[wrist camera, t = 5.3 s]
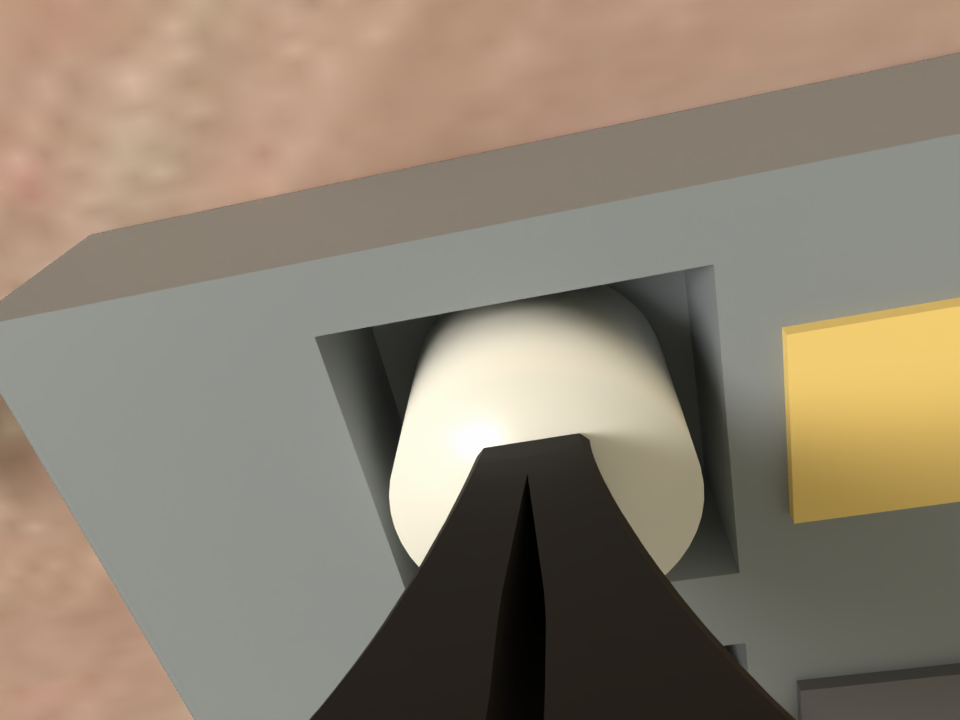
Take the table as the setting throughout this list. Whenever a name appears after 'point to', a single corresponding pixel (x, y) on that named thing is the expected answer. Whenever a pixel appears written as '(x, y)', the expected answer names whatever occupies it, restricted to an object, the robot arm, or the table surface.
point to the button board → (513, 276)
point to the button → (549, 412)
